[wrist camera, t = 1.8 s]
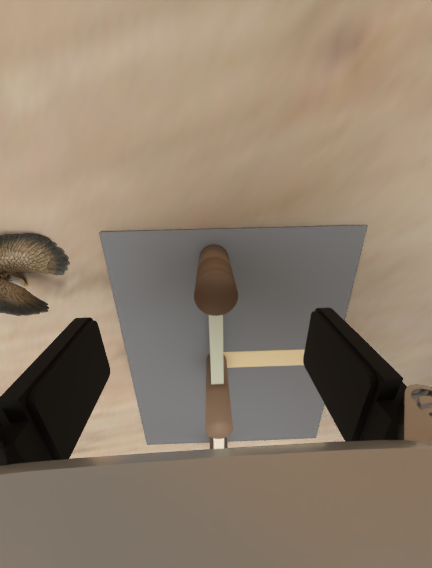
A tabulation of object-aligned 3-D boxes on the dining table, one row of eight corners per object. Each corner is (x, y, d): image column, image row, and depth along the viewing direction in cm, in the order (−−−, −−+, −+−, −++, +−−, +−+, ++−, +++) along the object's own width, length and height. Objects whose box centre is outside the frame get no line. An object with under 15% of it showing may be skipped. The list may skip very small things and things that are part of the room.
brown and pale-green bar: (228, 351, 26) (235, 416, 19) (204, 352, 26) (202, 417, 19) (228, 244, 21) (238, 275, 14) (198, 244, 21) (192, 276, 14)
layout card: (364, 224, 22) (368, 225, 21) (314, 435, 34) (316, 438, 34) (100, 231, 21) (98, 232, 21) (147, 441, 34) (146, 445, 33)
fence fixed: (206, 352, 27) (204, 421, 19) (226, 351, 27) (233, 419, 19) (210, 439, 33) (210, 517, 25) (226, 438, 33) (231, 516, 25)
